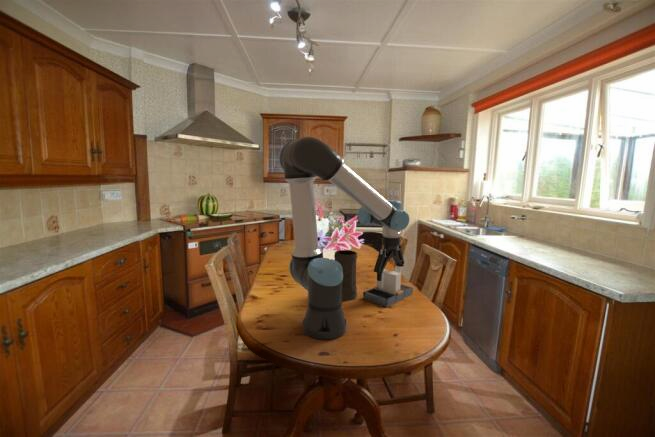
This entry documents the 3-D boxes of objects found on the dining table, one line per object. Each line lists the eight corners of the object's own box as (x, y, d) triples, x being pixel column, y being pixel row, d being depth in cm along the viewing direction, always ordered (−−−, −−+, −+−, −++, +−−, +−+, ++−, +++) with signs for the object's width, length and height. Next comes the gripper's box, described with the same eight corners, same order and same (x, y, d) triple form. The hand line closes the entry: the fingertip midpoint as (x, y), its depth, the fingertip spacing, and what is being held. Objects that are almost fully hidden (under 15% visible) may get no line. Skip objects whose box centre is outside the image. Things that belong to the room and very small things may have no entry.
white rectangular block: (395, 298, 129) (396, 275, 127) (377, 292, 135) (378, 270, 134) (400, 295, 132) (401, 273, 130) (382, 289, 138) (383, 268, 136)
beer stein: (355, 302, 127) (357, 254, 125) (330, 299, 129) (331, 253, 127) (358, 291, 142) (360, 248, 140) (336, 288, 144) (337, 247, 142)
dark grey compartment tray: (386, 307, 122) (387, 298, 122) (363, 298, 131) (363, 290, 130) (412, 294, 137) (413, 286, 136) (389, 286, 145) (390, 279, 144)
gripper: (381, 241, 118) (379, 293, 121) (413, 233, 136) (411, 279, 139) (366, 238, 124) (364, 288, 127) (399, 231, 141) (397, 275, 144)
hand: (388, 283), depth 133 cm, fingers open, 13 cm apart
